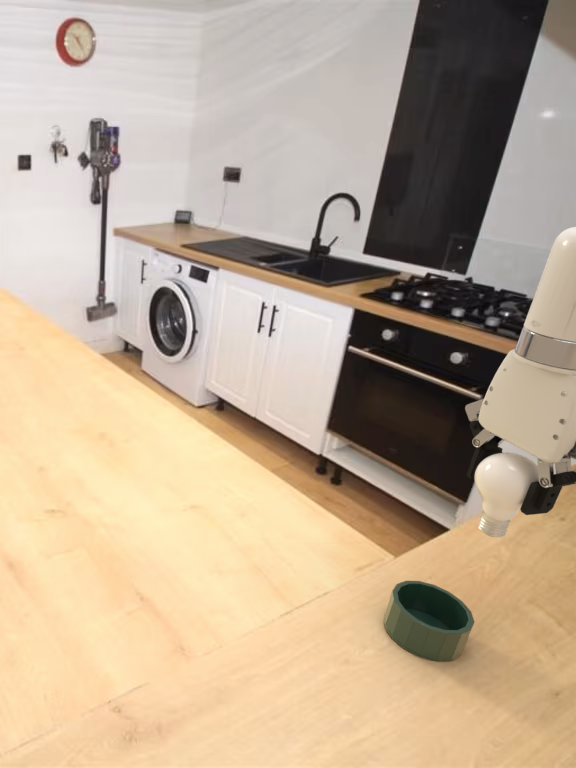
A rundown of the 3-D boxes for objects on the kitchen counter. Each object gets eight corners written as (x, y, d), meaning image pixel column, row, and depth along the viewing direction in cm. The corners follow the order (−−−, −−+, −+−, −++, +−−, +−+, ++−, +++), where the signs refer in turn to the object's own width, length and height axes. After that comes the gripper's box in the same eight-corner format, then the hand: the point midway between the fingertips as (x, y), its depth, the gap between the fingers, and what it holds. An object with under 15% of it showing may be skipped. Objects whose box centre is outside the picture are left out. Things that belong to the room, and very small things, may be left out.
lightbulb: (452, 535, 66) (476, 457, 61) (465, 511, 70) (488, 437, 65) (517, 560, 62) (549, 479, 57) (527, 533, 66) (557, 455, 61)
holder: (434, 608, 75) (445, 581, 73) (478, 663, 67) (491, 634, 65) (371, 607, 75) (379, 579, 73) (406, 662, 67) (417, 633, 65)
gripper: (692, 380, 49) (611, 539, 56) (517, 324, 65) (471, 453, 72) (623, 385, 48) (549, 546, 55) (462, 326, 64) (421, 458, 71)
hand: (505, 492), depth 63 cm, fingers closed on lightbulb, 6 cm apart
